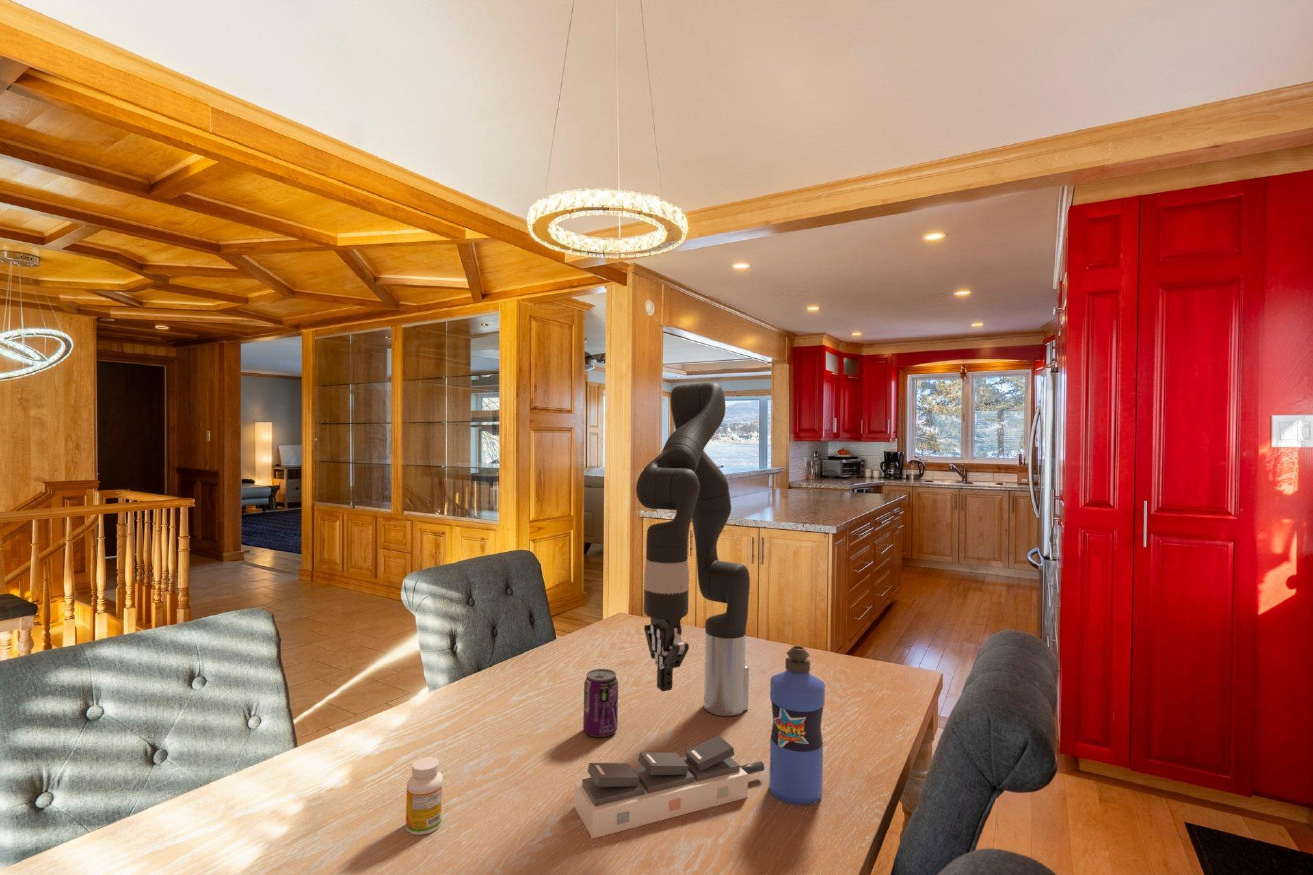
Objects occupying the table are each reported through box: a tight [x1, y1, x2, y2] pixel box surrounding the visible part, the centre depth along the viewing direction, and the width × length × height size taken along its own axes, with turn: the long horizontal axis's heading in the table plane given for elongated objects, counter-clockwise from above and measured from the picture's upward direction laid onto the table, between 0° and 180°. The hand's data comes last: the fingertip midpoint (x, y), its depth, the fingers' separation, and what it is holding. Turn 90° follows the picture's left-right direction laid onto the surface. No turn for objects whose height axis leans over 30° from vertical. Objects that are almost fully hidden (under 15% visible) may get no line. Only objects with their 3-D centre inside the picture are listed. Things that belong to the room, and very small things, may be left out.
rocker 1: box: [587, 762, 639, 787], centre depth 101 cm, size 7×5×2 cm
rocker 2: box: [637, 751, 689, 775], centre depth 105 cm, size 7×5×2 cm
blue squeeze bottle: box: [768, 645, 826, 806], centre depth 109 cm, size 9×9×25 cm
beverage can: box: [582, 668, 619, 738], centre depth 130 cm, size 7×7×12 cm
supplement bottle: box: [405, 756, 444, 836], centre depth 98 cm, size 5×5×10 cm
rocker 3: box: [684, 735, 735, 771], centre depth 109 cm, size 7×5×2 cm
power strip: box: [574, 755, 765, 839], centre depth 106 cm, size 34×9×5 cm, turn 115°
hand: (664, 689), depth 105 cm, fingers closed
